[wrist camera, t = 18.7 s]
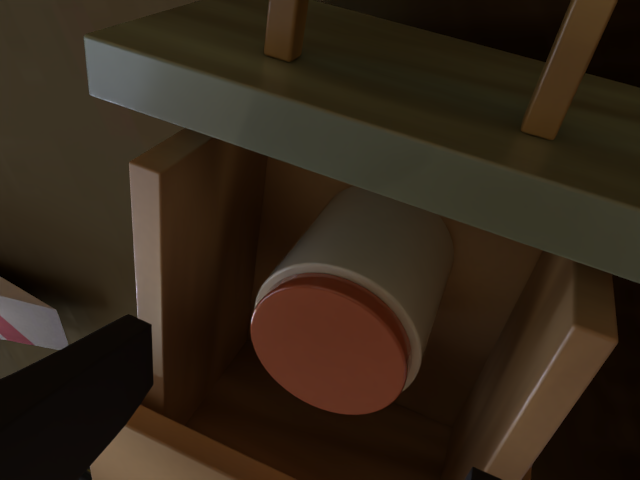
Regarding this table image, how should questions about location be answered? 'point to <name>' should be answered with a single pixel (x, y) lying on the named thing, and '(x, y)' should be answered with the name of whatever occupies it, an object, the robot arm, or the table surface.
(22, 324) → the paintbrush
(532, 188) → the drawer
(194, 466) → the cabinet
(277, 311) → the paint pot
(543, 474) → the table surface
